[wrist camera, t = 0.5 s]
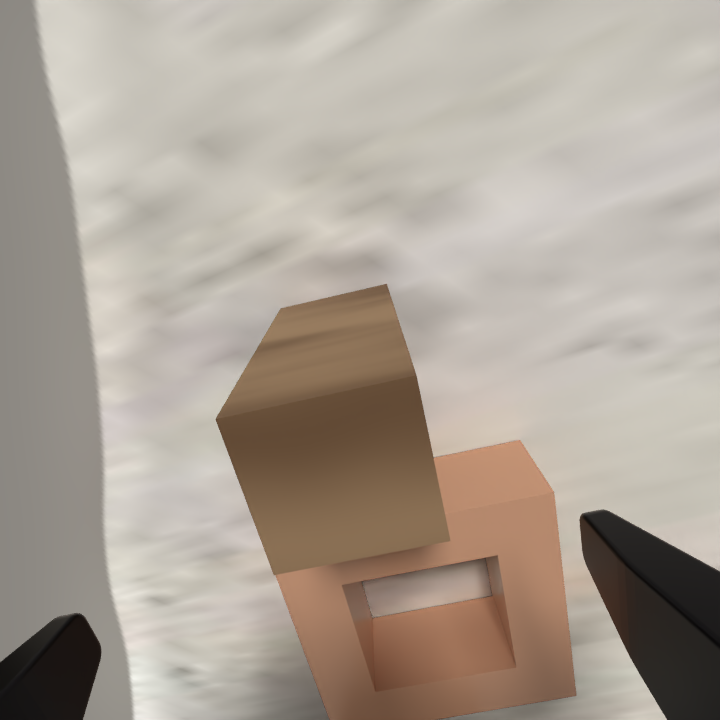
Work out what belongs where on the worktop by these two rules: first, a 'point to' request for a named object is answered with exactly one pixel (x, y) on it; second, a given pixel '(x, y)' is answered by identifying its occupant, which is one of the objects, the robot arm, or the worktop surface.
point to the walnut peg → (334, 436)
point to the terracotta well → (448, 606)
